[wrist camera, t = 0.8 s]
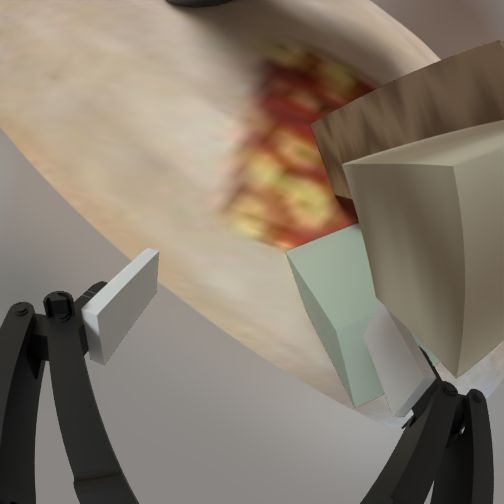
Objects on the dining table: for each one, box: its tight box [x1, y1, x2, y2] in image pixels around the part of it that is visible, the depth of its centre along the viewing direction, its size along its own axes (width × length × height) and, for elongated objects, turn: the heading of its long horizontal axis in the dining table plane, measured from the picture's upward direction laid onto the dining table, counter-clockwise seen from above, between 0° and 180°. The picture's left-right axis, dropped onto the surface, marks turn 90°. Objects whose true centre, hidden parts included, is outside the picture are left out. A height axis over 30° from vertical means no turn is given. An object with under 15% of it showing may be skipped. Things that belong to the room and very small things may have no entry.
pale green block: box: [286, 223, 440, 407], centre depth 29 cm, size 10×12×20 cm
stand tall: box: [310, 41, 504, 199], centre depth 20 cm, size 10×13×30 cm
